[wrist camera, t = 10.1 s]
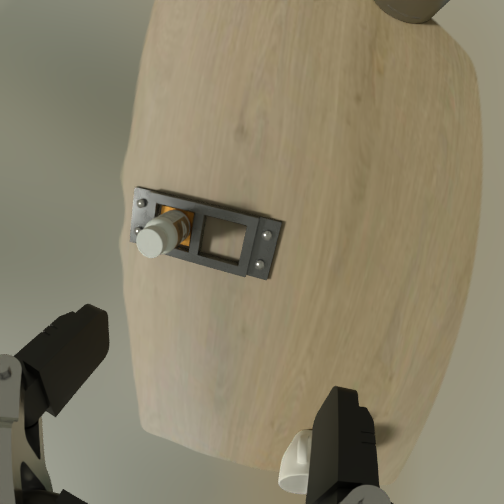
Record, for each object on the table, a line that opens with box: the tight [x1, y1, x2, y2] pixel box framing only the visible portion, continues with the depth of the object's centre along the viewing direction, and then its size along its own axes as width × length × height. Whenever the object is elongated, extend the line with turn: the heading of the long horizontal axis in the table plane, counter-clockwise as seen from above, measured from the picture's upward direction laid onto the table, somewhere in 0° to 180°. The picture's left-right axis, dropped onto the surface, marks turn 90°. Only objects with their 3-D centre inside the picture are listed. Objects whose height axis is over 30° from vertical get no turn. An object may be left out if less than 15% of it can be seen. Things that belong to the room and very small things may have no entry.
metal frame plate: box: [130, 187, 282, 280], centre depth 40 cm, size 8×20×1 cm, turn 78°
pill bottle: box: [136, 210, 191, 258], centre depth 37 cm, size 4×4×8 cm
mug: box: [278, 430, 312, 494], centre depth 45 cm, size 12×8×11 cm
